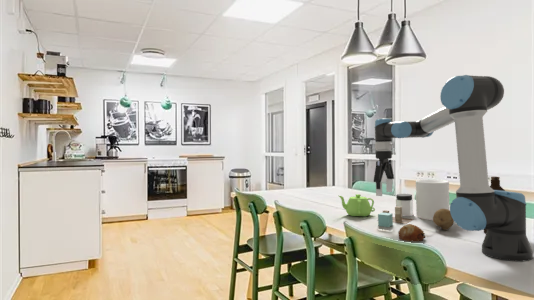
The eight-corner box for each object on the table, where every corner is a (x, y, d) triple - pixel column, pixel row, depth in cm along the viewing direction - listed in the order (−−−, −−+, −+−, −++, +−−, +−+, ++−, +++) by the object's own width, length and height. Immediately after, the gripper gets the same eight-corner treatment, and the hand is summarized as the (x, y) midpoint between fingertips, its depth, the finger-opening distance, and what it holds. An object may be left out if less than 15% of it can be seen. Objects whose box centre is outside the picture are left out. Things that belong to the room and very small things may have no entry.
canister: (434, 214, 194) (433, 178, 193) (457, 220, 178) (456, 181, 178) (410, 216, 190) (409, 180, 189) (430, 223, 174) (430, 183, 174)
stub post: (387, 218, 184) (387, 211, 184) (382, 217, 185) (382, 211, 185) (389, 217, 186) (389, 210, 186) (384, 216, 187) (384, 210, 187)
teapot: (355, 221, 184) (355, 197, 183) (338, 216, 196) (337, 194, 196) (377, 217, 191) (377, 194, 191) (359, 213, 204) (358, 191, 203)
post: (400, 221, 176) (400, 207, 176) (395, 220, 177) (394, 207, 177) (402, 220, 178) (401, 206, 178) (396, 219, 179) (396, 206, 179)
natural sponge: (441, 233, 155) (441, 211, 155) (428, 228, 164) (428, 207, 164) (459, 231, 157) (458, 209, 157) (445, 226, 166) (445, 206, 166)
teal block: (388, 229, 165) (388, 215, 165) (378, 227, 168) (378, 214, 168) (392, 226, 169) (392, 213, 169) (382, 225, 172) (382, 212, 172)
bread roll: (407, 243, 154) (399, 225, 156) (429, 236, 148) (421, 218, 151) (400, 248, 147) (392, 230, 149) (423, 241, 141) (414, 223, 143)
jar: (393, 215, 194) (392, 194, 194) (405, 214, 197) (404, 193, 196) (403, 218, 186) (403, 196, 185) (416, 217, 188) (415, 195, 188)
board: (406, 225, 170) (406, 223, 170) (376, 222, 180) (376, 220, 180) (413, 221, 179) (413, 219, 179) (385, 217, 189) (385, 216, 189)
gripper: (381, 151, 156) (382, 198, 157) (399, 149, 175) (400, 190, 176) (365, 151, 161) (366, 196, 161) (385, 149, 180) (386, 189, 181)
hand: (384, 193), depth 169 cm, fingers open, 13 cm apart
